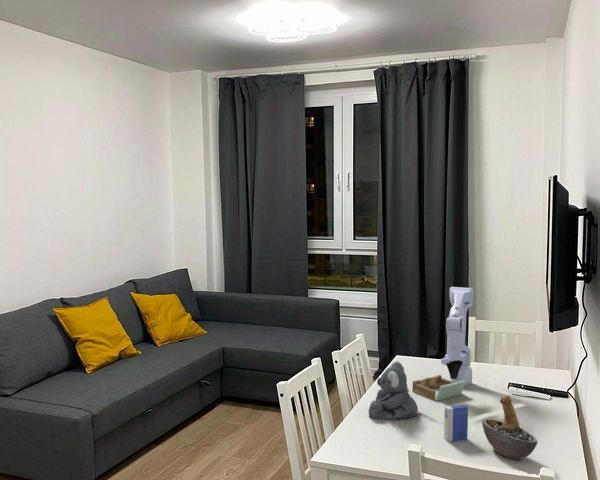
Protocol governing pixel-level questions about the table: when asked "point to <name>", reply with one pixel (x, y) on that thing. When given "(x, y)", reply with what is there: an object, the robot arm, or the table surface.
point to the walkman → (456, 422)
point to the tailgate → (450, 390)
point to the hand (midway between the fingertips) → (453, 378)
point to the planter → (509, 434)
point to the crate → (429, 386)
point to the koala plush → (393, 396)
